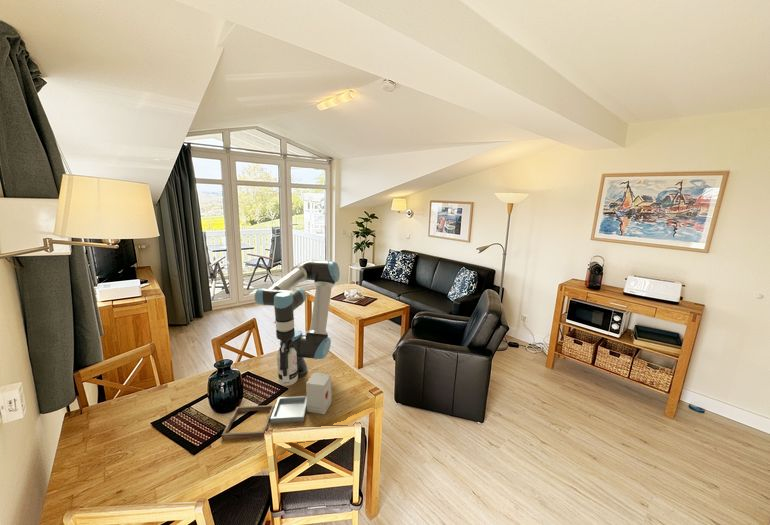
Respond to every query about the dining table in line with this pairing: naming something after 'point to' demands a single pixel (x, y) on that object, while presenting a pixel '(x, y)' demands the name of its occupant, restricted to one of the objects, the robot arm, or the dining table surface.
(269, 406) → the wooden frame
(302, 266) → the robot arm
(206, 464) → the dining table surface
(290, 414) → the tray
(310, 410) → the supplement box
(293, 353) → the supplement can
